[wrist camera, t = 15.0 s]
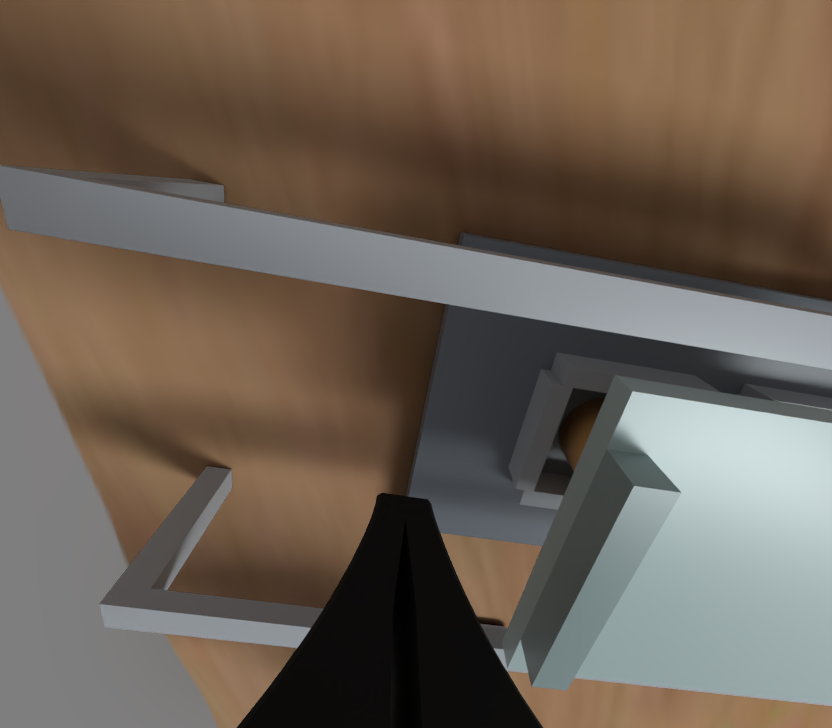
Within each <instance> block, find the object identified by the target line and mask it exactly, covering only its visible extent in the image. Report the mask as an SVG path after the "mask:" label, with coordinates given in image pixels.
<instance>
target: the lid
mask: <svg viewBox="0 0 832 728" xmlns="http://www.w3.org/2000/svg"><path fill="white" fill-rule="evenodd" d="M502 644H503V649H504V654H505V659H506V665H507V669H514V670H523V671H528V674H529V678H530V682H531V687H540V688H550V689H559V690H567V689H568V688H569V686H570V684H571V683H572V681H573V679H574V677H575V676H578V677H587V678H596V679H606V680H615V681H624V682H633V683H642V684H652V685H661V686H670V687H679V688H688V689H698V690H707V691H716V692H725V693H734V694H744V695H753V696H762V697H771V698H780V699H790V700H799V701H808V702H817V703H826V704H832V410H826V409H820V408H814V407H807V406H801V405H795V404H789V403H783V402H777V401H771V400H765V399H758V398H752V397H746V396H740V395H734V394H728V393H722V392H716V391H709V390H703V389H697V388H691V387H685V386H679V385H673V384H667V383H660V382H654V381H648V380H642V379H636V378H630V377H624V376H618V375H615V376H614V378H613V381H612V383H611V385H610V388H609V390H608V392H607V395H606V397H605V400H604V402H603V404H602V407H601V409H600V411H599V414H598V416H597V418H596V421H595V423H594V426H593V428H592V430H591V433H590V435H589V437H588V440H587V442H586V444H585V447H584V449H583V452H582V454H581V456H580V459H579V461H578V463H577V466H576V468H575V470H574V473H573V475H572V478H571V480H570V482H569V485H568V487H567V489H566V492H565V494H564V497H563V499H562V501H561V504H560V506H559V508H558V511H557V513H556V515H555V518H554V520H553V523H552V525H551V527H550V530H549V532H548V534H547V537H546V539H545V541H544V544H543V546H542V549H541V551H540V553H539V556H538V558H537V560H536V563H535V565H534V567H533V570H532V572H531V575H530V577H529V579H528V582H527V584H526V586H525V589H524V591H523V594H522V596H521V598H520V601H519V603H518V605H517V608H516V610H515V612H514V615H513V617H512V620H511V622H510V624H509V627H508V629H507V631H506V634H505V636H504V638H503V641H502Z"/></svg>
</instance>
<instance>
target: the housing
mask: <svg viewBox="0 0 832 728" xmlns="http://www.w3.org/2000/svg"><path fill="white" fill-rule="evenodd" d="M0 198H1V202H2V206H3V210H4V215H5V219H6V223H7V227H8V229H10V230H16V231H22V232H28V233H34V234H39V235H45V236H51V237H57V238H63V239H69V240H74V241H80V242H86V243H92V244H98V245H104V246H110V247H115V248H121V249H127V250H133V251H139V252H145V253H151V254H156V255H162V256H168V257H174V258H180V259H186V260H192V261H197V262H203V263H209V264H215V265H221V266H227V267H233V268H238V269H244V270H250V271H256V272H262V273H268V274H274V275H279V276H285V277H291V278H297V279H303V280H309V281H315V282H320V283H326V284H332V285H338V286H344V287H350V288H356V289H361V290H367V291H373V292H379V293H385V294H391V295H397V296H402V297H408V298H414V299H420V300H426V301H432V302H438V303H443V304H445V309H444V314H443V319H442V323H441V328H440V333H439V338H438V343H437V347H436V352H435V357H434V362H433V367H432V371H431V376H430V381H429V386H428V391H427V395H426V400H425V405H424V410H423V415H422V420H421V424H420V429H419V434H418V439H417V444H416V448H415V453H414V458H413V463H412V468H411V472H410V477H409V482H408V487H407V492H406V496H408V497H415V498H422V499H428V500H429V501H430V503H431V505H432V509H433V512H434V516H435V519H436V522H437V525H438V528H439V531H440V533H446V534H454V535H462V536H469V537H477V538H484V539H492V540H500V541H507V542H515V543H523V544H530V545H538V546H543V544H544V541H545V539H546V537H547V534H548V532H549V530H550V527H551V525H552V523H553V520H554V518H555V515H556V513H557V511H558V508H559V506H560V504H561V501H562V499H563V497H564V494H565V492H566V489H567V487H568V485H569V482H570V480H571V478H572V475H573V473H574V471H573V469H572V468H571V466H570V464H569V462H568V460H567V459H566V457H565V455H564V453H563V452H562V450H561V448H560V445H559V440H558V434H559V429H560V426H561V424H562V422H563V420H564V419H565V417H566V416H567V415H568V414H569V413H570V412H571V411H572V410H573V409H574V408H576V407H577V406H579V405H580V404H582V403H584V402H586V401H589V400H592V399H596V398H601V397H606V395H607V392H608V390H609V388H610V385H611V383H612V381H613V378H614V376H615V375H618V376H624V377H630V378H636V379H642V380H648V381H654V382H660V383H667V384H673V385H679V386H685V387H691V388H697V389H703V390H709V391H716V392H722V393H728V394H734V395H740V396H746V397H752V398H758V399H765V400H771V401H777V402H783V403H789V404H795V405H801V406H807V407H814V408H820V409H826V410H832V300H829V299H823V298H818V297H812V296H807V295H801V294H796V293H791V292H785V291H780V290H774V289H769V288H763V287H758V286H752V285H747V284H742V283H736V282H731V281H725V280H720V279H714V278H709V277H703V276H698V275H693V274H687V273H682V272H676V271H671V270H665V269H660V268H655V267H649V266H644V265H638V264H633V263H627V262H622V261H616V260H611V259H606V258H600V257H595V256H589V255H584V254H578V253H573V252H567V251H562V250H557V249H551V248H546V247H540V246H535V245H529V244H524V243H518V242H513V241H508V240H502V239H497V238H491V237H486V236H480V235H475V234H469V233H464V232H460V237H459V242H458V245H454V244H449V243H443V242H438V241H432V240H427V239H421V238H416V237H410V236H405V235H399V234H394V233H388V232H383V231H377V230H371V229H366V228H360V227H355V226H349V225H344V224H338V223H333V222H327V221H322V220H316V219H311V218H305V217H300V216H294V215H289V214H283V213H278V212H272V211H267V210H261V209H256V208H250V207H245V206H239V205H234V204H228V203H224V185H219V184H214V183H208V182H203V181H197V180H192V179H181V178H168V177H155V176H141V175H128V174H114V173H101V172H88V171H74V170H61V169H48V168H34V167H21V166H8V165H0ZM231 489H232V469H224V468H217V467H210V466H207V467H206V468H205V469H204V471H203V472H202V473H201V474H200V476H199V477H198V478H197V479H196V481H195V482H194V483H193V485H192V486H191V487H190V488H189V490H188V491H187V492H186V494H185V495H184V496H183V497H182V499H181V500H180V501H179V503H178V504H177V505H176V506H175V508H174V509H173V510H172V512H171V513H170V514H169V515H168V517H167V518H166V519H165V520H164V522H163V523H162V524H161V526H160V527H159V528H158V529H157V531H156V532H155V533H154V535H153V536H152V537H151V538H150V540H149V541H148V542H147V544H146V545H145V546H144V547H143V549H142V550H141V551H140V553H139V554H138V555H137V556H136V558H135V559H134V560H133V561H132V563H131V564H130V565H129V567H128V568H127V569H126V570H125V572H124V573H123V574H122V576H121V577H120V578H119V579H118V581H117V582H116V583H115V585H114V586H113V587H112V589H111V590H110V591H109V592H108V594H107V595H106V596H105V597H104V599H103V600H102V601H101V603H100V604H99V605H100V609H101V613H102V617H103V622H104V625H105V627H108V628H117V629H127V630H136V631H145V632H155V633H163V634H173V635H182V636H191V637H200V638H210V639H219V640H228V641H237V642H247V643H256V644H265V645H274V646H283V647H293V648H298V646H299V645H300V644H301V642H302V641H303V639H304V638H305V636H306V635H307V633H308V632H309V630H310V629H311V627H312V626H313V624H314V623H315V621H316V620H317V618H318V617H319V615H320V614H321V612H322V610H323V609H324V608H316V607H307V606H298V605H290V604H281V603H272V602H264V601H255V600H246V599H238V598H229V597H220V596H212V595H203V594H194V593H186V592H177V591H169V590H168V588H169V587H170V585H171V583H172V582H173V580H174V579H175V577H176V576H177V574H178V572H179V571H180V569H181V568H182V566H183V565H184V563H185V561H186V560H187V558H188V557H189V555H190V554H191V552H192V550H193V549H194V547H195V546H196V544H197V543H198V541H199V539H200V538H201V536H202V535H203V533H204V532H205V530H206V528H207V527H208V525H209V524H210V522H211V520H212V519H213V517H214V516H215V514H216V513H217V511H218V509H219V508H220V506H221V505H222V503H223V502H224V500H225V498H226V497H227V495H228V494H229V492H230V491H231ZM482 628H483V630H484V632H485V634H486V636H487V638H488V639H489V641H490V643H491V645H492V647H493V648H494V650H495V652H496V654H497V655H498V657H499V659H500V661H501V662H502V664H503V666H504V667H505V669H506V671H514V672H523V673H528V671H523V670H514V669H507V665H506V659H505V654H504V649H503V644H502V641H503V638H504V636H505V634H506V631H507V630H506V629H497V628H489V627H482ZM574 678H579V679H588V680H597V681H606V682H616V683H625V684H634V685H643V686H653V687H662V688H671V689H680V690H690V691H699V692H708V693H717V694H726V695H736V696H745V697H754V698H763V699H773V700H782V701H791V702H800V703H810V704H819V705H828V706H832V704H826V703H817V702H808V701H799V700H790V699H780V698H771V697H762V696H753V695H744V694H734V693H725V692H716V691H707V690H698V689H688V688H679V687H670V686H661V685H652V684H642V683H633V682H624V681H615V680H606V679H596V678H587V677H578V676H575V677H574Z"/></svg>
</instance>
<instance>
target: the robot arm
mask: <svg viewBox="0 0 832 728" xmlns="http://www.w3.org/2000/svg"><path fill="white" fill-rule="evenodd" d="M482 627H489V628H497V629H506V630H507V628H506V627H503V626H496V625H487V624H480V622H479V620H478V619H477V617H476V615H475V613H474V611H473V608H472V606H471V604H470V602H469V600H468V598H467V596H466V594H465V592H464V590H463V588H462V585H461V583H460V581H459V579H458V576H457V574H456V572H455V569H454V567H453V565H452V562H451V560H450V558H449V555H448V553H447V550H446V547H445V545H444V542H443V539H442V537H441V534H440V531H439V528H438V525H437V522H436V519H435V516H434V512H433V509H432V505H431V503H430V501H429V500H428V499H422V498H415V497H408V496H401V495H393V494H386V493H381V494H379V495H377V499H376V504H375V507H374V511H373V514H372V517H371V519H370V522H369V524H368V527H367V529H366V531H365V534H364V536H363V538H362V540H361V542H360V544H359V546H358V548H357V550H356V552H355V555H354V557H353V559H352V561H351V562H350V564H349V566H348V568H347V570H346V572H345V573H344V575H343V577H342V579H341V580H340V582H339V584H338V586H337V587H336V589H335V591H334V593H333V594H332V596H331V598H330V599H329V601H328V602H327V604H326V606H325V607H324V609H323V610H322V612H321V614H320V615H319V617H318V618H317V620H316V621H315V623H314V624H313V626H312V627H311V629H310V630H309V632H308V633H307V635H306V636H305V638H304V639H303V641H302V642H301V644H300V645H299V646H298V648H297V649H296V651H295V652H294V653H293V655H292V656H291V658H290V659H289V660H288V662H287V663H286V665H285V666H284V667H283V669H282V670H281V672H280V673H279V674H278V676H277V677H276V678H275V680H274V681H273V682H272V684H271V685H270V686H269V688H268V689H267V690H266V692H265V693H264V694H263V695H262V697H261V698H260V699H259V700H258V702H257V703H256V704H255V705H254V707H253V708H252V709H251V710H250V712H249V713H248V714H247V715H246V717H245V718H244V719H243V720H242V722H241V723H240V724H239V725H238V727H237V728H543V727H542V725H541V724H540V722H539V721H538V719H537V718H536V716H535V715H534V713H533V712H532V710H531V709H530V707H529V706H528V704H527V703H526V701H525V700H524V698H523V697H522V695H521V694H520V692H519V691H518V689H517V687H516V686H515V684H514V682H513V681H512V679H511V677H510V676H509V674H508V672H507V671H506V669H505V667H504V666H503V664H502V662H501V661H500V659H499V657H498V655H497V654H496V652H495V650H494V648H493V647H492V645H491V643H490V641H489V639H488V638H487V636H486V634H485V632H484V630H483V628H482Z"/></svg>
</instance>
